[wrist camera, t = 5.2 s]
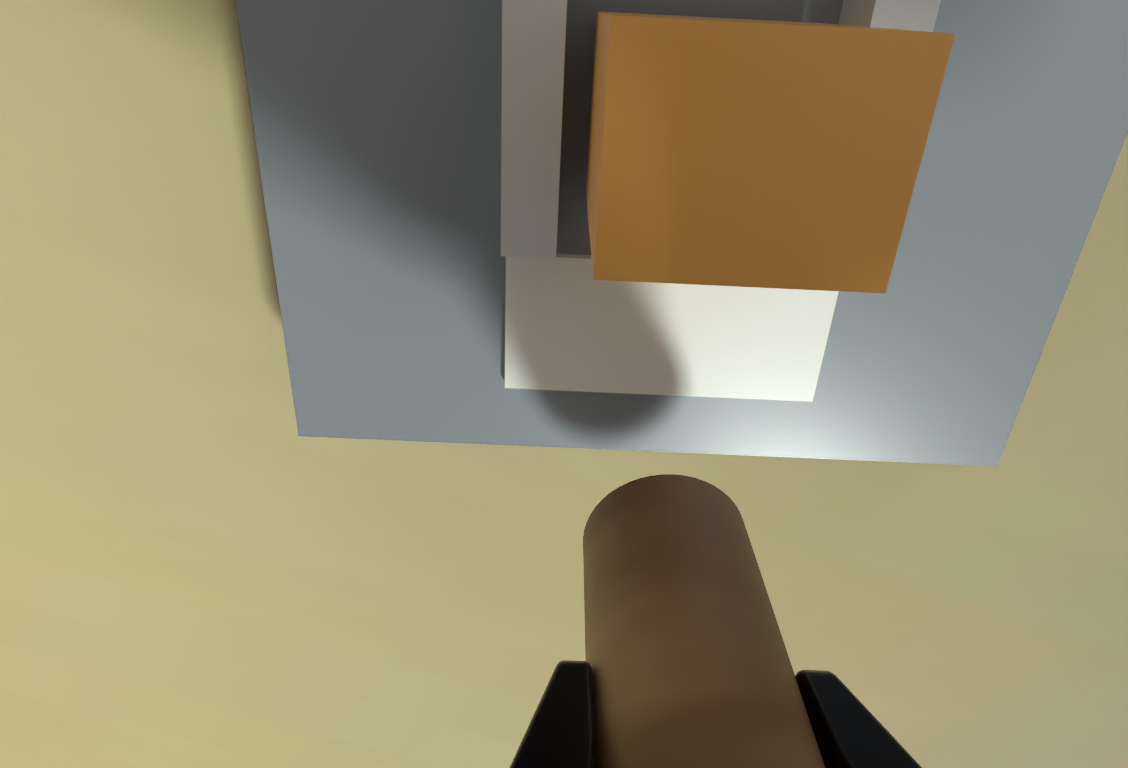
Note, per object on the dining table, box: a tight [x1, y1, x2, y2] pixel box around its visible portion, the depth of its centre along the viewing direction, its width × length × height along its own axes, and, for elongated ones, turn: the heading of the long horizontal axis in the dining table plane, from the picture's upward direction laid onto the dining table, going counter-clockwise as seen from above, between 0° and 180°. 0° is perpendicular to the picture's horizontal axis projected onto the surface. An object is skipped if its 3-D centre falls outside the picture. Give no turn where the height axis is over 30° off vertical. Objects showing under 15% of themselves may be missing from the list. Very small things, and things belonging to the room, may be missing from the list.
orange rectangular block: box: [586, 11, 955, 293], centre depth 9 cm, size 2×3×4 cm
